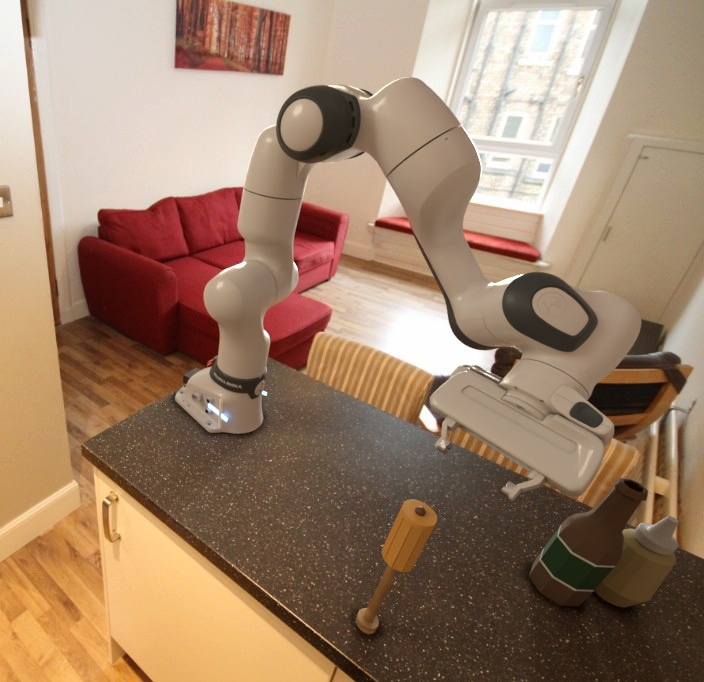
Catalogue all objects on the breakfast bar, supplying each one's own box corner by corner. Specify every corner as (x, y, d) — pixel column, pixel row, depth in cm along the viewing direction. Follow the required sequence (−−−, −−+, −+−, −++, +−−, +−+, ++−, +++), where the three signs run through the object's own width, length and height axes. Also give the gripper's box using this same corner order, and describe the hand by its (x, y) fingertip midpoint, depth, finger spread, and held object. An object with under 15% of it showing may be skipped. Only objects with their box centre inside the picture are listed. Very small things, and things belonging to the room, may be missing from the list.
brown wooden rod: (352, 623, 67) (401, 516, 55) (360, 609, 69) (409, 503, 57) (371, 638, 65) (426, 531, 54) (379, 623, 67) (434, 517, 56)
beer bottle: (516, 573, 77) (588, 472, 65) (544, 558, 80) (618, 460, 68) (564, 616, 71) (652, 514, 59) (592, 599, 73) (682, 498, 62)
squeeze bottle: (622, 622, 70) (694, 551, 62) (568, 577, 77) (626, 505, 68) (649, 604, 73) (721, 533, 65) (595, 562, 80) (654, 491, 71)
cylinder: (376, 558, 59) (399, 507, 54) (388, 539, 62) (411, 489, 57) (407, 578, 57) (433, 528, 52) (418, 557, 60) (444, 508, 55)
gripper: (461, 349, 66) (400, 419, 66) (631, 433, 52) (552, 522, 52) (466, 367, 71) (409, 433, 71) (624, 449, 56) (551, 532, 56)
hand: (470, 472), depth 61 cm, fingers open, 8 cm apart
